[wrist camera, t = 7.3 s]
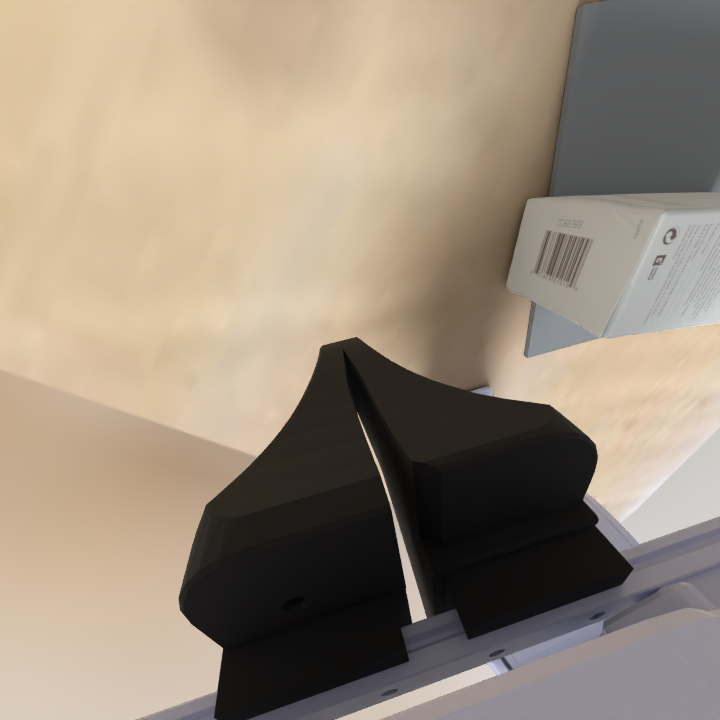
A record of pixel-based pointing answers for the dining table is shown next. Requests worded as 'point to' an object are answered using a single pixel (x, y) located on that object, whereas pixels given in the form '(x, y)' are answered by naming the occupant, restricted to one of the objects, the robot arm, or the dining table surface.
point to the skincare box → (622, 260)
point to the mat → (635, 115)
